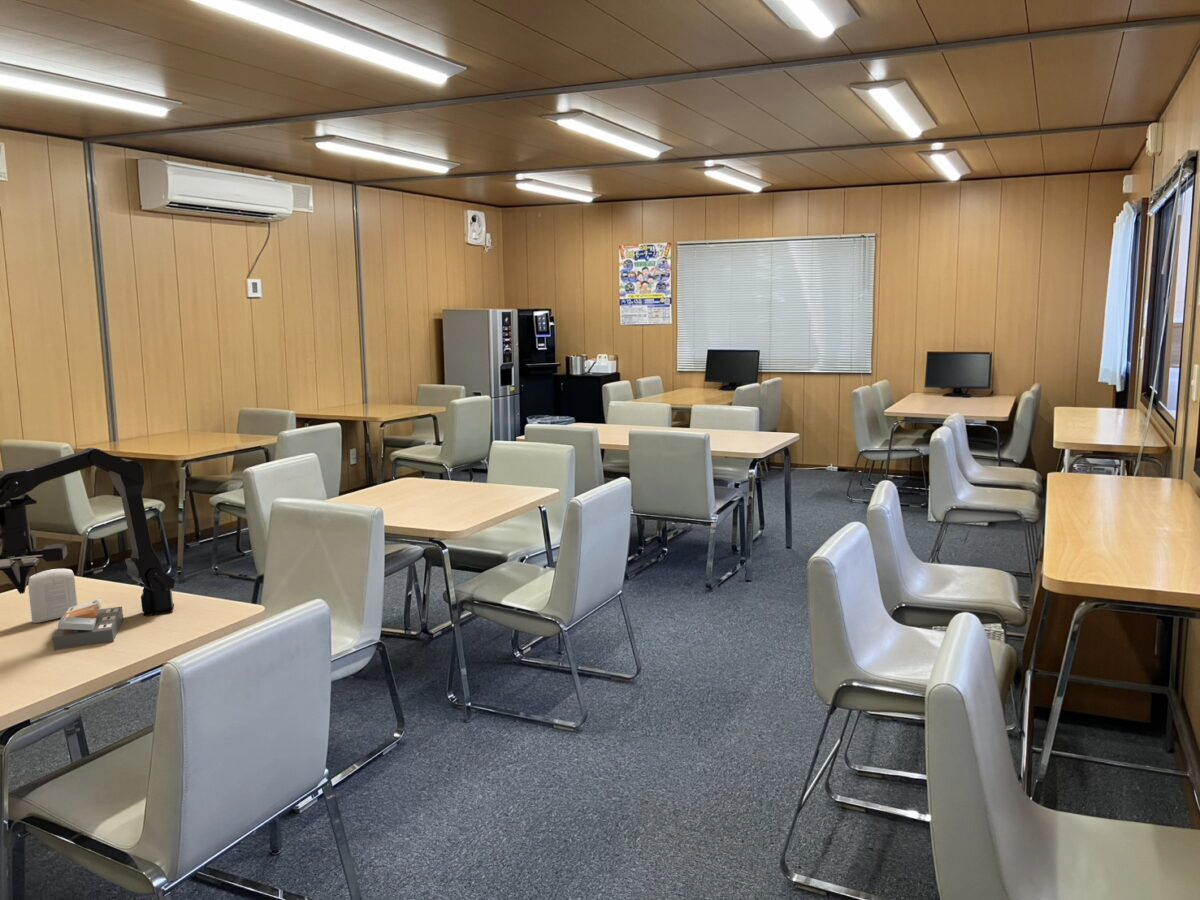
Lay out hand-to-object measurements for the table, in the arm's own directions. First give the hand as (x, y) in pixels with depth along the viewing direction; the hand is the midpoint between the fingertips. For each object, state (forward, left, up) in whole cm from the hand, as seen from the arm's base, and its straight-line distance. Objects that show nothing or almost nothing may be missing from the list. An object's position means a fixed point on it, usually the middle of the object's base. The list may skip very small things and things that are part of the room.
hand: (22, 593), depth 205 cm
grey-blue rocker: (-11, +3, -9) cm, 14 cm away
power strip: (-12, -3, -12) cm, 18 cm away
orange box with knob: (-11, -3, -9) cm, 14 cm away
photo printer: (-2, -20, -13) cm, 24 cm away
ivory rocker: (-11, -9, -9) cm, 16 cm away
